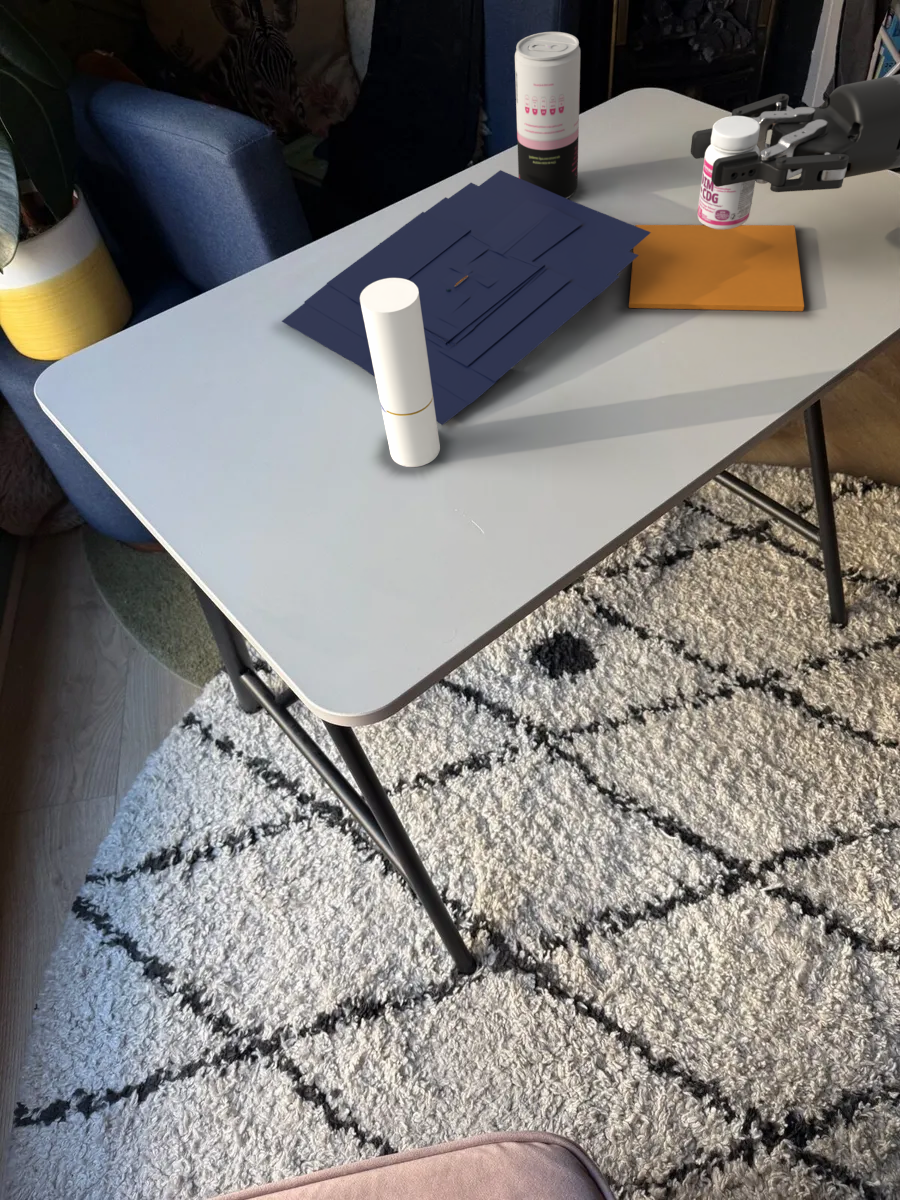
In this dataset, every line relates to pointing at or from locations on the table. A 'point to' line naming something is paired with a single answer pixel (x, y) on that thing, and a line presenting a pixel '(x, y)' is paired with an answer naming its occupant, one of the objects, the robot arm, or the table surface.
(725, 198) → the pill bottle
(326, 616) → the table surface
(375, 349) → the tube
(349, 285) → the papers
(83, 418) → the table surface
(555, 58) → the beverage can
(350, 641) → the table surface
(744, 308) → the amber mat
